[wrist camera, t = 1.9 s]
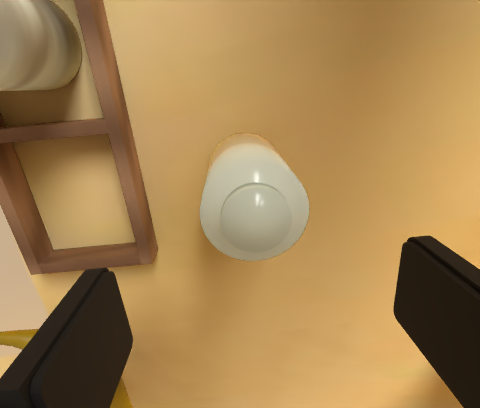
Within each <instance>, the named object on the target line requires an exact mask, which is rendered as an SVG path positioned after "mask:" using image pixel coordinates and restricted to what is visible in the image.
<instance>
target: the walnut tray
mask: <svg viewBox="0 0 480 408" xmlns="http://www.w3.org/2000/svg"><path fill="white" fill-rule="evenodd" d="M74 1H75V5H76V9H77V13H78V17H79V21H80V25H81V29H82V33H83V36H84V40H85V44H86V48H87V52H88V56H89V60H90V64H91V68H92V72H93V76H94V80H95V84H96V88H97V92H98V95H99V99H100V103H101V107H102V111H103V115H104V118H99V119H87V120H76V121H65V122H53V123H42V124H31V125H20V126H8V127H6V126H5V124H4V121H3V119H2V116H1V113H0V205H1V207H2V210H3V212H4V214H5V216H6V219H7V221H8V223H9V226H10V228H11V230H12V232H13V235H14V237H15V239H16V241H17V244H18V246H19V248H20V251H21V253H22V255H23V257H24V260H25V262H26V264H27V267H28V269H29V271H30V273H31V275H33V274H44V273H55V272H65V271H76V270H87V269H95V268H108V267H119V266H130V265H140V264H151V263H153V260H154V258H155V255H156V253H157V251H158V246H157V242H156V237H155V233H154V228H153V224H152V219H151V215H150V210H149V206H148V201H147V197H146V192H145V188H144V183H143V179H142V174H141V170H140V165H139V161H138V156H137V152H136V147H135V143H134V138H133V134H132V129H131V125H130V120H129V116H128V111H127V107H126V102H125V98H124V93H123V89H122V84H121V80H120V75H119V71H118V66H117V62H116V57H115V53H114V48H113V44H112V39H111V35H110V30H109V26H108V21H107V17H106V12H105V8H104V3H103V0H74ZM81 54H82V52H81V44H80V39H79V36H78V33H77V31H76V29H75V27H74V25H73V23H72V21H71V20H70V18H69V17H68V16H67V14H66V13H65V12H64V11H63V10H62V9H61V8H60V7H59V6H58V5H56V4H55V3H54V2H52V1H51V0H0V91H14V90H52V89H57V88H61V87H63V86H65V85H66V84H68V83H69V82H70V81H71V80H72V79H73V78H74V77H75V75H76V74H77V72H78V70H79V67H80V63H81ZM99 134H108V135H109V139H110V143H111V147H112V151H113V154H114V158H115V162H116V166H117V170H118V174H119V178H120V182H121V186H122V190H123V194H124V198H125V202H126V206H127V210H128V213H129V217H130V221H131V225H132V229H133V233H134V237H135V241H136V243H125V244H114V245H104V246H93V247H82V248H71V249H60V250H53V248H52V245H51V243H50V240H49V238H48V235H47V232H46V230H45V227H44V225H43V222H42V219H41V217H40V214H39V212H38V209H37V207H36V204H35V201H34V199H33V196H32V194H31V191H30V188H29V186H28V183H27V181H26V178H25V175H24V173H23V170H22V168H21V165H20V163H19V160H18V157H17V155H16V152H15V150H14V147H13V144H12V142H20V141H31V140H42V139H54V138H65V137H76V136H87V135H99Z"/></svg>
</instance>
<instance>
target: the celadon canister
mask: <svg viewBox="0 0 480 408" xmlns="http://www.w3.org/2000/svg"><path fill="white" fill-rule="evenodd" d="M308 217H309V201H308V196H307V194H306V191H305V189H304V187H303V185H302V184H301V182H300V181H299V180H298V178H297V177H296V176H295V174H294V173H293V172H292V170H291V169H290V168H289V166H288V165H287V164H286V163H285V161H284V160H283V159H282V157H281V156H280V155H279V153H278V152H277V151H276V150H275V148H274V147H273V146H272V144H271V143H270V142H268V141H267V140H266V139H264V138H263V137H261V136H258V135H256V134H252V133H239V134H235V135H232V136H230V137H228V138H226V139H224V140H223V141H222V142H221V143H220V144H219V145H218V146H217V147H216V148H215V150H214V152H213V154H212V156H211V159H210V163H209V168H208V172H207V177H206V182H205V186H204V191H203V195H202V200H201V204H200V221H201V226H202V228H203V231H204V233H205V235H206V237H207V238H208V240H209V241H210V242H211V244H212V245H213V246H214V247H215V248H217V249H218V250H219V251H221V252H222V253H224V254H226V255H228V256H230V257H232V258H235V259H239V260H244V261H260V260H266V259H269V258H273V257H275V256H278V255H279V254H281V253H283V252H285V251H286V250H288V249H289V248H290V247H291V246H293V245H294V244H295V243H296V241H297V240H298V239H299V238H300V236H301V235H302V233H303V231H304V229H305V227H306V225H307V221H308Z"/></svg>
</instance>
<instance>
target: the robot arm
mask: <svg viewBox="0 0 480 408" xmlns="http://www.w3.org/2000/svg"><path fill="white" fill-rule="evenodd" d="M394 315H395V317H396V319H397V321H398V322H399V323H400V325H401V326H402V327H403V329H404V330H405V331H406V333H407V334H408V335H409V337H410V338H411V339H412V340H413V342H414V343H415V344H416V346H417V347H418V348H419V350H420V351H421V352H422V354H423V355H424V356H425V358H426V359H427V360H428V361H429V363H430V364H431V365H432V367H433V368H434V369H435V371H436V372H437V373H438V375H439V376H440V377H441V379H442V380H443V381H444V382H445V384H446V385H447V386H448V388H449V389H450V390H451V392H452V393H453V394H454V396H455V397H456V398H457V400H458V401H459V402H460V403H461V405H462V406H463V407H464V408H480V270H479V269H478V268H477V267H475V266H474V265H472V264H471V263H469V262H468V261H466V260H465V259H464V258H462V257H461V256H459V255H458V254H456V253H455V252H453V251H452V250H451V249H449V248H448V247H446V246H445V245H443V244H442V243H440V242H439V241H437V240H436V239H435V238H433V237H431V236H419V237H410V238H409V239H408V240H407V242H405V243H404V244H403V246H402V252H401V259H400V266H399V273H398V280H397V287H396V294H395V301H394ZM132 343H133V337H132V332H131V329H130V325H129V322H128V318H127V315H126V312H125V308H124V305H123V301H122V298H121V294H120V291H119V287H118V284H117V280H116V277H115V274H114V272H112V271H111V272H109V270H108V269H107V268H95V269H87V270H85V271H84V272H83V274H82V275H81V276H80V277H79V279H78V280H77V281H76V283H75V284H74V285H73V286H72V288H71V289H70V290H69V291H68V293H67V294H66V295H65V297H64V298H63V299H62V300H61V302H60V303H59V304H58V305H57V307H56V308H55V309H54V311H53V312H52V313H51V314H50V316H49V317H48V318H47V320H46V321H45V322H44V323H43V325H42V326H41V327H40V328H39V330H38V331H37V332H36V334H35V335H34V336H33V337H32V339H31V340H30V341H29V342H28V344H27V345H26V346H25V348H24V349H23V350H22V351H21V353H20V354H19V355H18V356H17V358H16V359H15V360H14V362H13V363H12V364H11V365H10V367H9V368H8V369H7V370H6V372H5V373H4V374H3V376H2V377H1V378H0V408H110V406H111V403H112V400H113V398H114V395H115V392H116V389H117V387H118V384H119V381H120V378H121V376H122V373H123V370H124V367H125V365H126V362H127V359H128V356H129V354H130V351H131V348H132Z"/></svg>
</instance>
